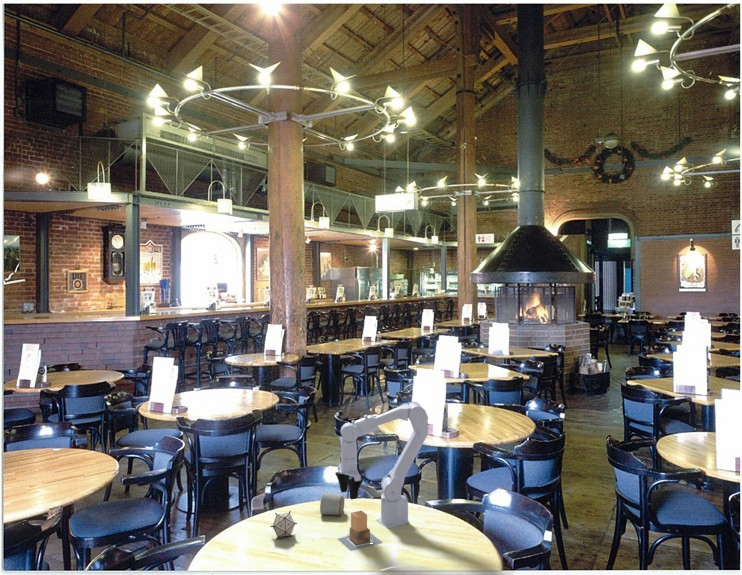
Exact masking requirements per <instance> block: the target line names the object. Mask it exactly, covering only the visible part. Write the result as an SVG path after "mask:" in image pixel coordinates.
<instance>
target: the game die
mask: <svg viewBox="0 0 742 575" xmlns="http://www.w3.org/2000/svg"><path fill="white" fill-rule="evenodd" d="M291 511H292V510H289V512H287V513H279V514H278V512H275V513H274V514H275V518H274V521H273V523H272V525H270V526H269V527H270V528H272V530H274V533H275V535H276V536H277V537H276V540H278V539H279V538H280V537H282V538H283V537H288V536H290V538H291V537H293V535H292V534H293V530H294V527H295V525H297V524H298V522H296V521H294V518H293V517H292V515H291Z"/></svg>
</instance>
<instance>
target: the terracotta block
mask: <svg viewBox="0 0 742 575" xmlns="http://www.w3.org/2000/svg"><path fill="white" fill-rule="evenodd" d="M350 527H351V528H352V529H353V530H354V531H355V532H360V531H364V530H367V528H368V514H367V513H366V512H364V511H363V510H358V511H353V512H351V513H350Z"/></svg>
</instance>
